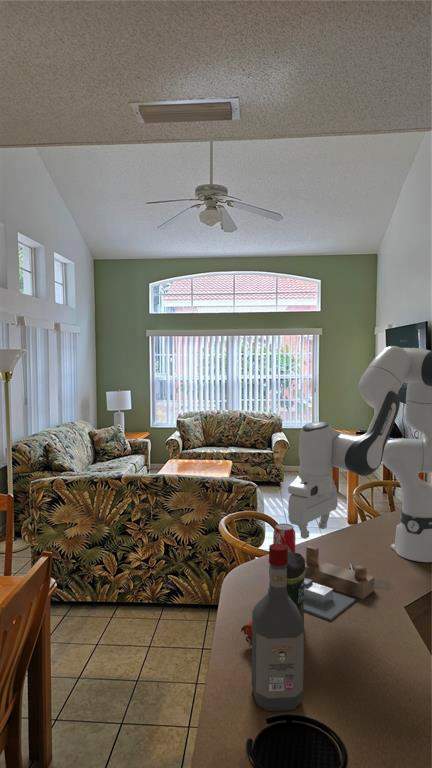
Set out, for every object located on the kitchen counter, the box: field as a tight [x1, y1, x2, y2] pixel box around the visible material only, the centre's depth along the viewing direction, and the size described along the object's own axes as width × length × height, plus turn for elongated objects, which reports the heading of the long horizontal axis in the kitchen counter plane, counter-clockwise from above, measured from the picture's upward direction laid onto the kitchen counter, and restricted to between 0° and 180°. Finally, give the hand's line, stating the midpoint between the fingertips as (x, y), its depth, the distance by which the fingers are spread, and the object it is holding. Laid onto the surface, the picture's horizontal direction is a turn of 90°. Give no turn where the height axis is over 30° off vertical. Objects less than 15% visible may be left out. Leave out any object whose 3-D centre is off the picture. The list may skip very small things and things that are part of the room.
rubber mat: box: [304, 591, 357, 622], centre depth 143 cm, size 14×18×1 cm
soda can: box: [272, 523, 296, 553], centre depth 168 cm, size 7×7×12 cm
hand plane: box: [305, 545, 375, 600], centre depth 152 cm, size 20×7×9 cm, turn 49°
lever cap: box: [304, 578, 334, 606], centre depth 143 cm, size 9×5×4 cm, turn 49°
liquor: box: [251, 543, 305, 712], centre depth 102 cm, size 9×9×30 cm
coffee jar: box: [268, 551, 306, 623], centre depth 127 cm, size 10×8×19 cm
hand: (314, 532), depth 142 cm, fingers open, 8 cm apart
